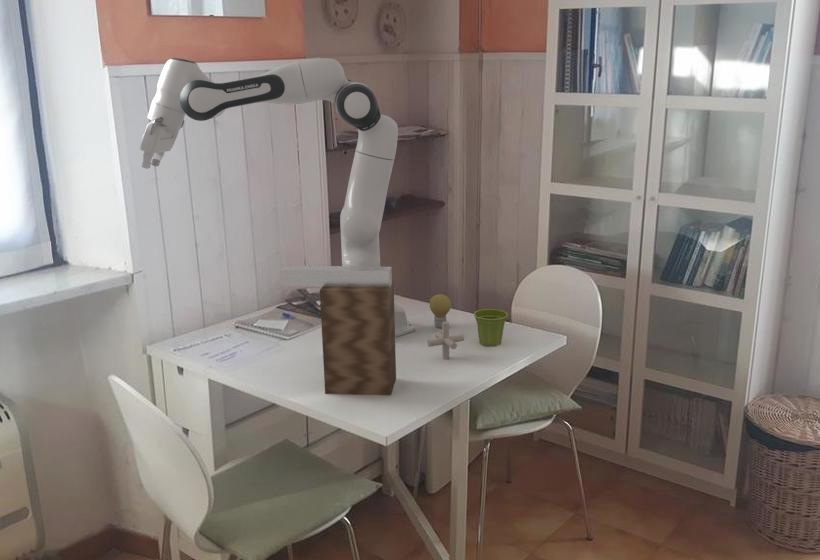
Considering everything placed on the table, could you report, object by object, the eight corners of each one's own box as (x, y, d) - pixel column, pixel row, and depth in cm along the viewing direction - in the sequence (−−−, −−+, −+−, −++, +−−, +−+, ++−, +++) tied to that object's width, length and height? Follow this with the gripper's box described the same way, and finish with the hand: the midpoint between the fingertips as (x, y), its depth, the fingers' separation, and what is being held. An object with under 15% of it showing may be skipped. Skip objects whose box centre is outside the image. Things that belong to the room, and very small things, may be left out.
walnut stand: (325, 393, 187) (319, 290, 180) (333, 377, 197) (328, 278, 190) (390, 395, 186) (387, 291, 179) (396, 379, 195) (393, 279, 188)
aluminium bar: (281, 286, 184) (280, 269, 183) (285, 281, 188) (284, 265, 187) (389, 287, 182) (389, 271, 180) (391, 282, 185) (391, 266, 184)
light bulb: (435, 331, 230) (435, 299, 227) (426, 325, 235) (425, 293, 233) (454, 328, 232) (454, 296, 229) (445, 322, 238) (444, 290, 235)
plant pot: (488, 335, 226) (488, 306, 223) (514, 342, 219) (514, 313, 217) (466, 343, 219) (466, 314, 217) (492, 351, 213) (493, 321, 210)
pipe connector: (437, 367, 202) (436, 331, 200) (421, 355, 211) (420, 320, 208) (471, 361, 206) (471, 325, 203) (454, 349, 215) (454, 314, 212)
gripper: (167, 122, 196) (151, 173, 199) (185, 121, 216) (170, 168, 219) (143, 113, 195) (127, 164, 198) (163, 113, 215) (148, 160, 218)
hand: (150, 166), depth 208 cm, fingers open, 8 cm apart
